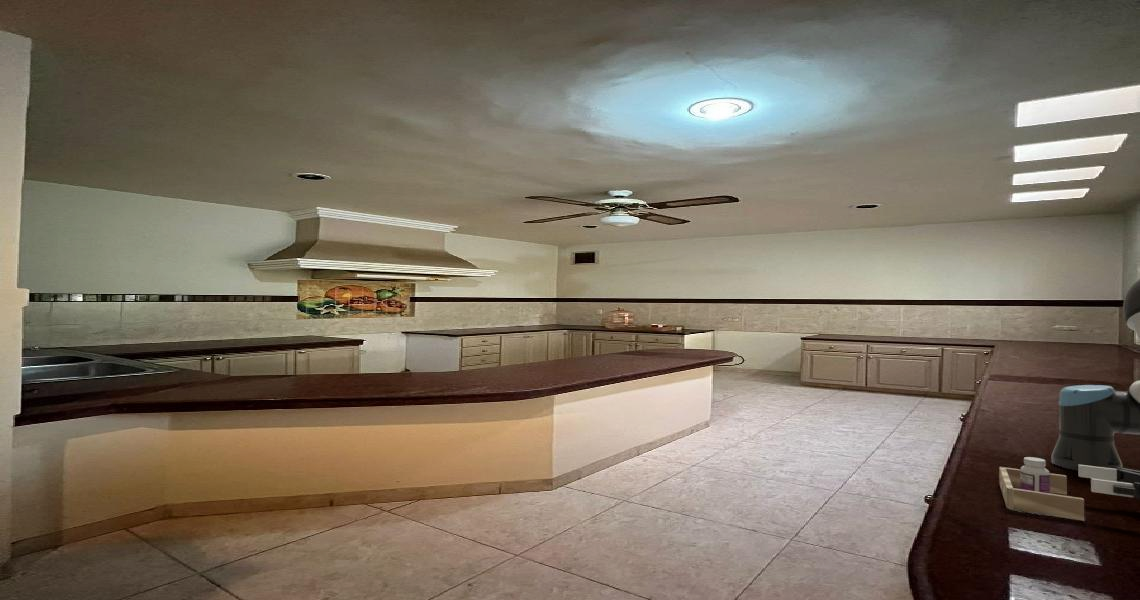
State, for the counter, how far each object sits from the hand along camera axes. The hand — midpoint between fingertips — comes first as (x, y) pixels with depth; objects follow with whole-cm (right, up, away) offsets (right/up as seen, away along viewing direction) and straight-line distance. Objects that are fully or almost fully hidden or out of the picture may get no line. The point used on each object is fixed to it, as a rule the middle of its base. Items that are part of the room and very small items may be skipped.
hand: (1084, 477), depth 129 cm
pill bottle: (-7, -7, +5) cm, 11 cm away
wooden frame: (-7, -7, +5) cm, 11 cm away
